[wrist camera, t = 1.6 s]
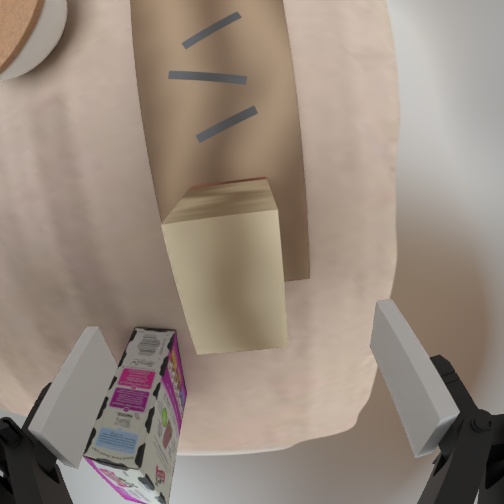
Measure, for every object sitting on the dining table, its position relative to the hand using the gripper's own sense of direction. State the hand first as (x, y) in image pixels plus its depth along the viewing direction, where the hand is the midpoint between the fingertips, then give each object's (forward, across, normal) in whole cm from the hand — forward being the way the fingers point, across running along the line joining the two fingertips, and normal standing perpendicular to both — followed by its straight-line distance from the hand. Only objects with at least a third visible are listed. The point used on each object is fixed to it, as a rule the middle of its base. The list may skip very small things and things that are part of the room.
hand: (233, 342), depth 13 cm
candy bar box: (+14, -11, -15) cm, 23 cm away
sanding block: (+13, 0, 0) cm, 13 cm away
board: (+14, 0, +10) cm, 17 cm away
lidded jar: (+14, -16, +23) cm, 32 cm away
